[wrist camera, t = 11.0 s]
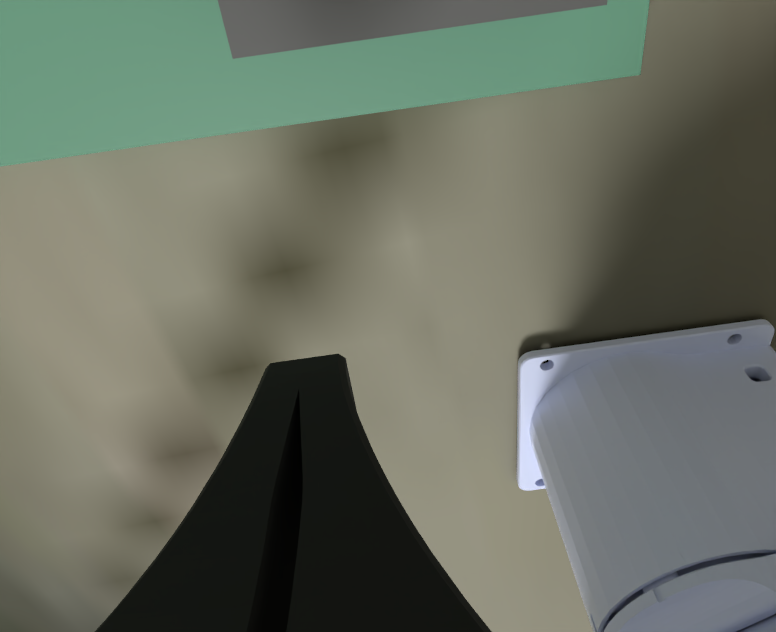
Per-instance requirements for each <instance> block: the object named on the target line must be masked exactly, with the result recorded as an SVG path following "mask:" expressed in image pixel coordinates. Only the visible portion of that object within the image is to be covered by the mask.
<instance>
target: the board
mask: <svg viewBox="0 0 776 632" xmlns="http://www.w3.org/2000/svg"><path fill="white" fill-rule="evenodd" d="M649 1H650V0H0V166H7V165H14V164H21V163H28V162H35V161H42V160H49V159H56V158H63V157H70V156H77V155H84V154H91V153H98V152H105V151H112V150H119V149H126V148H133V147H140V146H146V145H153V144H160V143H167V142H174V141H181V140H188V139H195V138H202V137H209V136H216V135H223V134H230V133H237V132H244V131H251V130H258V129H265V128H272V127H279V126H286V125H293V124H300V123H307V122H314V121H321V120H328V119H335V118H342V117H349V116H356V115H363V114H370V113H377V112H384V111H391V110H398V109H405V108H412V107H419V106H426V105H433V104H440V103H447V102H454V101H461V100H468V99H475V98H482V97H489V96H495V95H502V94H509V93H516V92H523V91H530V90H537V89H544V88H551V87H558V86H565V85H572V84H579V83H586V82H593V81H600V80H607V79H614V78H621V77H628V76H635V75H640V73H641V65H642V57H643V49H644V41H645V33H646V25H647V17H648V9H649Z"/></svg>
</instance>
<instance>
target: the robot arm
mask: <svg viewBox="0 0 776 632" xmlns="http://www.w3.org/2000/svg"><path fill="white" fill-rule="evenodd" d="M774 330H775V329H774V327H773V326H772V325H771V324H770V322H769V321H767V320H765V319H759V320H751V321H744V322H737V323H730V324H723V325H715V326H708V327H701V328H694V329H687V330H679V331H672V332H665V333H658V334H651V335H643V336H636V337H629V338H622V339H615V340H607V341H600V342H593V343H586V344H579V345H571V346H564V347H557V348H550V349H543V350H535V351H530V352H526V353H525V354H523V355H522V356H521V357H520V358H519V361H518V410H517V482H518V485H519V488H521V489H522V490H537V489H544V488H546V490H547V493H548V496H549V499H550V503H551V506H552V509H553V512H554V515H555V518H556V521H557V524H558V527H559V530H560V533H561V536H562V539H563V542H564V545H565V548H566V551H567V554H568V557H569V560H570V563H571V566H572V569H573V572H574V575H575V578H576V581H577V584H578V587H579V590H580V593H581V596H582V599H583V602H584V605H585V608H586V611H587V614H588V617H589V620H590V623H591V626H592V629H593V632H776V352H775V351H774V350H773V348H772V347H771V346H770V344H771V341H772V338H773V335H774ZM734 334H735V335H734ZM732 335H733V336H732ZM730 336H732V337H730ZM546 360H550V361H548V362H547V363H544V364H543V363H542V362H543V361H546ZM95 632H491V631H490V629H489V628H488V627H487V626H486V624H485V623H484V622H483V620H482V619H481V618H480V617H479V615H478V614H477V613H476V612H475V610H474V609H473V608H472V607H471V605H470V604H469V603H468V602H467V600H466V599H465V598H464V596H463V595H462V594H461V592H460V591H459V589H458V588H457V587H456V585H455V584H454V582H453V581H452V580H451V578H450V577H449V576H448V574H447V573H446V571H445V570H444V569H443V567H442V566H441V565H440V563H439V562H438V560H437V559H436V558H435V556H434V555H433V553H432V552H431V551H430V549H429V547H428V546H427V544H426V543H425V541H424V540H423V538H422V537H421V535H420V534H419V532H418V531H417V529H416V528H415V526H414V524H413V523H412V521H411V519H410V518H409V516H408V514H407V513H406V511H405V510H404V508H403V506H402V505H401V503H400V501H399V499H398V498H397V496H396V494H395V492H394V490H393V489H392V487H391V485H390V483H389V481H388V479H387V477H386V476H385V474H384V472H383V470H382V468H381V466H380V464H379V462H378V460H377V458H376V456H375V454H374V452H373V449H372V447H371V445H370V443H369V440H368V438H367V436H366V433H365V431H364V429H363V426H362V424H361V422H360V419H359V416H358V414H357V411H356V406H355V401H354V396H353V392H352V387H351V382H350V377H349V373H348V368H347V363H346V359H345V358H344V357H343V356H341V355H339V354H333V355H326V356H319V357H312V358H304V359H297V360H290V361H283V362H276V363H270V364H269V366H268V367H267V368H266V369H265V372H264V374H263V376H262V379H261V381H260V383H259V385H258V388H257V390H256V392H255V394H254V396H253V399H252V401H251V403H250V405H249V407H248V409H247V411H246V413H245V415H244V417H243V419H242V421H241V423H240V425H239V427H238V429H237V431H236V432H235V434H234V436H233V438H232V440H231V442H230V444H229V445H228V447H227V449H226V451H225V453H224V455H223V457H222V458H221V460H220V462H219V464H218V465H217V467H216V469H215V470H214V472H213V474H212V475H211V477H210V478H209V480H208V482H207V483H206V485H205V487H204V488H203V490H202V491H201V493H200V495H199V496H198V498H197V500H196V501H195V503H194V504H193V506H192V507H191V509H190V511H189V512H188V513H187V515H186V516H185V518H184V519H183V521H182V522H181V524H180V525H179V527H178V528H177V530H176V531H175V533H174V534H173V535H172V537H171V538H170V539H169V541H168V542H167V544H166V545H165V546H164V548H163V549H162V550H161V552H160V553H159V555H158V556H157V557H156V559H155V560H154V561H153V562H152V564H151V565H150V566H149V567H148V569H147V570H146V571H145V573H144V574H143V575H142V576H141V578H140V579H139V580H138V581H137V583H136V584H135V585H134V586H133V588H132V589H131V590H130V591H129V593H128V594H127V595H126V596H125V598H124V599H123V600H122V601H121V602H120V604H119V605H118V606H117V607H116V608H115V609H114V611H113V612H112V613H111V614H110V615H109V616H108V618H107V619H106V620H105V621H104V622H103V623H102V624H101V625H100V627H99V628H98V629H97V630H96V631H95Z"/></svg>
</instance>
